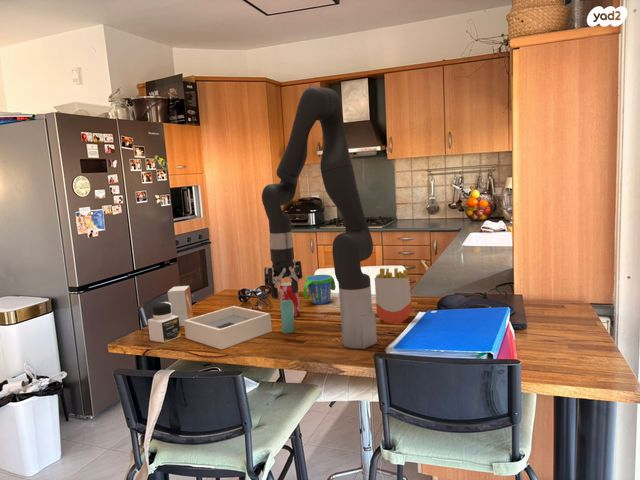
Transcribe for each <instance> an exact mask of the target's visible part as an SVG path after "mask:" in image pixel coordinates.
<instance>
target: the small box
mask: <svg viewBox="0 0 640 480" xmlns="http://www.w3.org/2000/svg"><path fill="white" fill-rule="evenodd" d="M167 299H168V301H167V302H168V303H171V307H172V315H175V316H178V317H179V325H180V327H185V326H184V320H187V319H191V318H194V316H193V315H194V313H193V306H192V305H193V304H192V296H191V286H190V285H182V286H181V285H179V286H178V285H177V286H173V287H171V288H170V289H169V290H168V291H167Z"/></svg>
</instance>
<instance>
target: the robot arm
mask: <svg viewBox="0 0 640 480" xmlns="http://www.w3.org/2000/svg"><path fill="white" fill-rule="evenodd" d="M317 121H319V124H320V126H321V130H322V135H323V148H322V153H321V157H320V165H319V166H320V173H321V174H320V175H321V178H322V183H323V186H324V189H325V191H326V193H327V195H328V198H330V200H331V202H332V203H333V204H334V206H335V207H336V208H337V210H338V211H339V213H340V214H341V217H342V220H343V224H344V227H345V232H341V233H339V234H337V235H336V236H335V238H334V239H333V241H332V248H331V249H332V251H331V252H332V260H333V267H334V275H335V278H336V281H337V283H338V296H339V298H338V299H339V310H340V324H341V335H342V336H341V337H342V345H343V346H344V347H346V348H349V349H362V350H365V349H367V348H370V347H372V346H373V345H376V344H377V343H378V338H377V337H378V336H377V323H376V312H375V311H373V303H372V287H371V286H372V285H371V283H372V282H371V277H370V275H369V274H367V273H364V272H363V271H362V265H361V262H363V261H366V260H368V259H369V258H371V256H372V254H373V251H374V242H373V238H372V234H371V231H370V229H369V228H370V227H369V225H368V222H367V220H366V216H365V213H364V210H363V206H362V202H361V201H362V200H361V199H360V194H359V189H358V186H357V180H356V174H355V171H354V167H353V162H352V159H351V155H350V151H349V150H350V149H349V146H348V142H347V136H346V131H345V124H344V115H343V108H342V102H341V100H340V95H338V93H337V92H336V90H334V89H332V88H328V87H322V86H317V85H316V86H315V85H314V86H309V87H307V88H306V89H305V90H304V91H303V92H302V94H301V96H300V98H299V102H298V105H297V108H296V113H295V117H294V120H293V124H292V127H291V132H290V136H289V139H288V142H287V144H286V148H285V149H284V150H285V151H284V153H283V154H282V157H281V159H280V161H279V163H278V166H277V168H276V176H277V177H278V178H279V179H280V181H279V183H270V184H267V185H265V187H263V189H262V192H261V201H262V205H263V208H264V211H265V213H266V217H267V220H268V230H269V242H268V243H269V253H270V262H271V264H272V265H271V267H266V266H265V267H264V270H263V271H264V272H263V273H264V286H265V287H269V289H270V296H271V298H272V299H273V300H277V299H279V288H278V286H279V284H280V282H281V281H282V279H285V278H289V279H290V282H291V289H292V293H297V292H299V283H298V282H299V280H301V279H303V270H302V269H303V268H302V261H300V260H295V251H294V249H295V248H294V238H293V233H292V231H293V230H292V220H291V216H290V215H289V213H286V212H285V213H284V212H283V208H282V206H286V205H289V204H290V203H291V202H292V201H293V199H294V198H295V195H296V192H297V186H298V179H299V177H300V174H301V172H302V171H303V168H304V166H305V163H306V161H307V157H308V143H309V142H308V141H309V136H310V134H311V133H310V132H311V130H312V128H313V126H314V125H315V124H316V122H317Z"/></svg>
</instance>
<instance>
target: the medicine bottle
mask: <svg viewBox="0 0 640 480" xmlns="http://www.w3.org/2000/svg"><path fill="white" fill-rule="evenodd" d="M151 309H152V318H149V319H147V324H148V332H149V340H150V341H152V342H156V343H157V342H158V343H162V344H163V343H164V344H165V343H168V342H170V341H173V340H176V339H178V338H180V337H181V335H182V334H181V326H180V325H179V317H178V316H175V315H172V307H171V303H169V301H163V302H161V301H160V302H157V303H154V304H153V305H152V306H151Z"/></svg>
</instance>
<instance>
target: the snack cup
mask: <svg viewBox="0 0 640 480" xmlns="http://www.w3.org/2000/svg"><path fill="white" fill-rule="evenodd" d="M304 279H305V283H304V285H303V290H302V293H303V294H302V295H303V297H304V298H305V299H310V302H311V303H312V304H313V305H325V304H328V303H330V302H331V296H332V295H331V294H332V291H335V290H336V282H335V279H334V277H333V276H332V275H331V274H314V275H313V274H312V275H310V276H307V277H306V278H304Z"/></svg>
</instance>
